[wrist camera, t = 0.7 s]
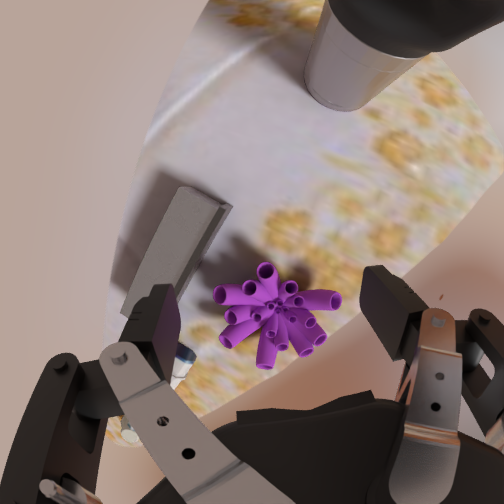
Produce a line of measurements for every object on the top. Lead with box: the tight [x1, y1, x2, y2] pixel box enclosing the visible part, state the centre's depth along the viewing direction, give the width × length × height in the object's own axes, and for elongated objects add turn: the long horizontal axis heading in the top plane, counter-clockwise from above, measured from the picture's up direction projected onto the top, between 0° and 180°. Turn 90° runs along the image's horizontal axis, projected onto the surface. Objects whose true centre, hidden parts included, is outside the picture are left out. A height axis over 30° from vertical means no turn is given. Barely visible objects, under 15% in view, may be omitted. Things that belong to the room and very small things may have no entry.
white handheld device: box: [121, 343, 197, 443], centre depth 40 cm, size 5×7×25 cm
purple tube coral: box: [213, 262, 342, 370], centre depth 33 cm, size 11×15×10 cm
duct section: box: [120, 187, 233, 318], centre depth 34 cm, size 19×6×6 cm, turn 149°
